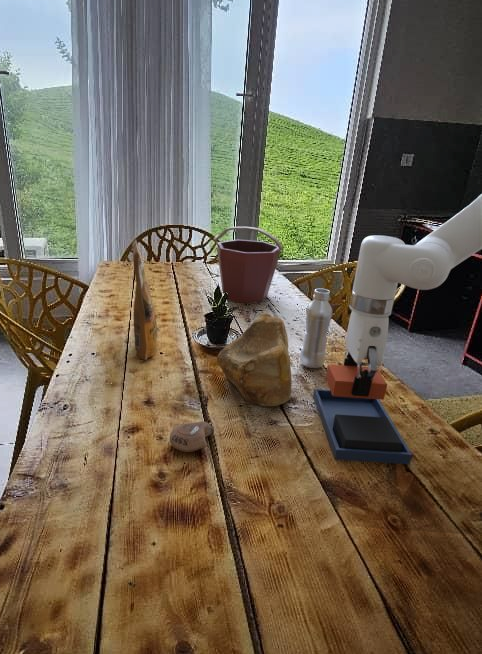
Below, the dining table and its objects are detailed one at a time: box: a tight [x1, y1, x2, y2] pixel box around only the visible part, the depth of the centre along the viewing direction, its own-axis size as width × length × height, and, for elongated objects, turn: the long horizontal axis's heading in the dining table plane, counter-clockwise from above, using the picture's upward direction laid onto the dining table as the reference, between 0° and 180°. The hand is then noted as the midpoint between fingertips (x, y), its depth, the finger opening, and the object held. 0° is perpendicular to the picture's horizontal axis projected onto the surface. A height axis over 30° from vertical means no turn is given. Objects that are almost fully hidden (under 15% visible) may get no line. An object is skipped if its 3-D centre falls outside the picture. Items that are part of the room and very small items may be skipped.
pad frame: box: [312, 388, 413, 465], centre depth 88 cm, size 13×21×2 cm, turn 177°
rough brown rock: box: [216, 312, 292, 407], centre depth 100 cm, size 23×17×15 cm
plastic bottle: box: [299, 288, 333, 369], centre depth 110 cm, size 6×7×20 cm
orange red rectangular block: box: [325, 363, 388, 401], centre depth 90 cm, size 10×7×4 cm
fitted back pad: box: [333, 414, 402, 452], centre depth 83 cm, size 10×8×4 cm
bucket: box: [213, 226, 284, 304], centre depth 160 cm, size 24×22×25 cm
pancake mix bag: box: [131, 239, 158, 361], centre depth 114 cm, size 7×19×28 cm, turn 2°
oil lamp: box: [169, 420, 215, 453], centre depth 82 cm, size 9×4×8 cm
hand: (354, 384), depth 90 cm, fingers closed on orange red rectangular block, 7 cm apart
